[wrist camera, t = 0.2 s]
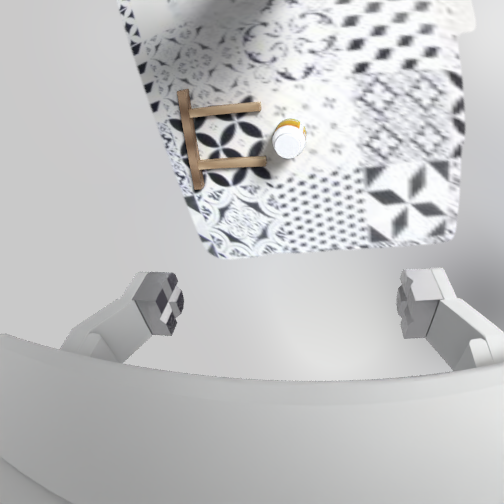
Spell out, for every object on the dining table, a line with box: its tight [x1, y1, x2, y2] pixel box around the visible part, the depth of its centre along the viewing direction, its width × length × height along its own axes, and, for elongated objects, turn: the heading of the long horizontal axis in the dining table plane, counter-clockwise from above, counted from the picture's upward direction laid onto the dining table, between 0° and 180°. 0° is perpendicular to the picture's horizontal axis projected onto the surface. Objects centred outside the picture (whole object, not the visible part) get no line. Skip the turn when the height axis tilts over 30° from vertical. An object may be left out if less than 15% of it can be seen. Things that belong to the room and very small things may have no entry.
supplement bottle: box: [272, 119, 306, 159], centre depth 49 cm, size 5×5×10 cm
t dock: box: [177, 89, 267, 190], centre depth 55 cm, size 20×14×2 cm
